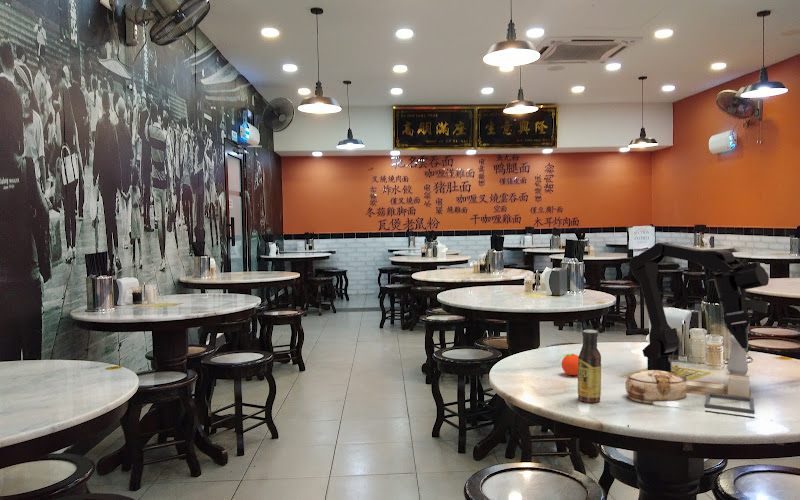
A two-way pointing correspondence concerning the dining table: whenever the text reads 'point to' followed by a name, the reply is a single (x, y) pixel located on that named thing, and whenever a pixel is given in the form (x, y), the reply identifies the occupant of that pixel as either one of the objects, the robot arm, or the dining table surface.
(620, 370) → the dining table surface
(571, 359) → the clementine
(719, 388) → the board
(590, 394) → the sauce bottle
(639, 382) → the trinket box
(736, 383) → the stub
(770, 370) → the dining table surface
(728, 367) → the salt shaker
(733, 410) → the tray
